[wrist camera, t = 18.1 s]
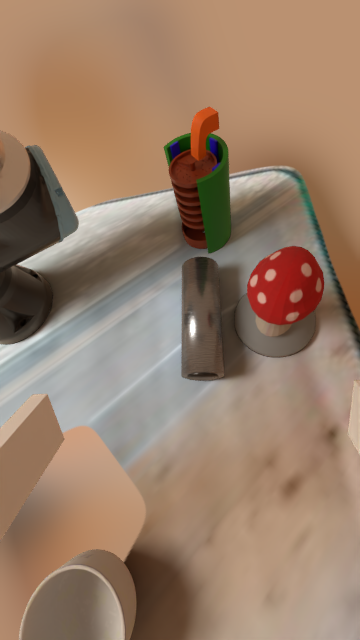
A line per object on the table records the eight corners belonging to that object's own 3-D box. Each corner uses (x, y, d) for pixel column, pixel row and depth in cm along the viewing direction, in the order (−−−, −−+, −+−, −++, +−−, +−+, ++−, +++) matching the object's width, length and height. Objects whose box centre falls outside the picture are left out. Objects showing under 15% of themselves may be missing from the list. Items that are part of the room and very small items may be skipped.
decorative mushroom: (289, 359, 40) (317, 318, 26) (234, 335, 43) (233, 287, 29) (313, 302, 42) (351, 239, 29) (260, 283, 45) (271, 217, 32)
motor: (171, 232, 54) (139, 128, 36) (203, 203, 55) (187, 89, 37) (209, 259, 50) (194, 157, 32) (242, 227, 51) (246, 113, 33)
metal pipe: (185, 382, 42) (177, 373, 37) (185, 277, 49) (178, 257, 44) (225, 381, 41) (223, 372, 36) (219, 274, 48) (216, 253, 43)
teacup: (104, 519, 37) (72, 539, 30) (165, 591, 33) (145, 634, 26) (28, 623, 34) (-27, 673, 27) (85, 715, 30) (38, 804, 23)
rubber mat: (237, 359, 42) (237, 357, 41) (231, 289, 47) (231, 287, 46) (321, 355, 40) (323, 354, 39) (307, 283, 45) (308, 281, 44)
